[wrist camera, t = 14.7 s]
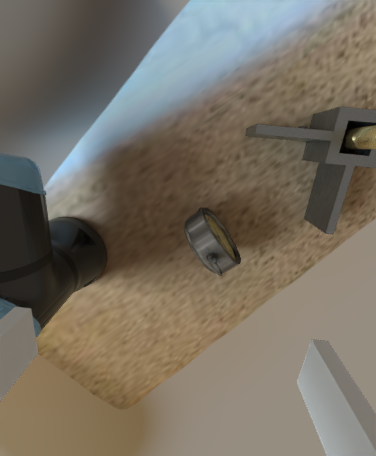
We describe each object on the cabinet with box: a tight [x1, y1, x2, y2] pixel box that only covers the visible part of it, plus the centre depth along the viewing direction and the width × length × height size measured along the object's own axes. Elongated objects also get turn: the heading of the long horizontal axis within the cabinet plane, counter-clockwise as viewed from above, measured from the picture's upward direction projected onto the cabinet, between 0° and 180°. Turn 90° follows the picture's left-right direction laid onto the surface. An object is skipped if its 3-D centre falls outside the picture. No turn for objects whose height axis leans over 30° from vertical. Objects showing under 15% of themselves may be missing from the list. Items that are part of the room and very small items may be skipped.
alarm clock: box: [185, 208, 241, 276], centre depth 38 cm, size 11×5×16 cm, turn 38°
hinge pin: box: [340, 125, 376, 149], centre depth 32 cm, size 3×3×15 cm
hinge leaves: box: [245, 107, 376, 234], centre depth 38 cm, size 18×18×8 cm
